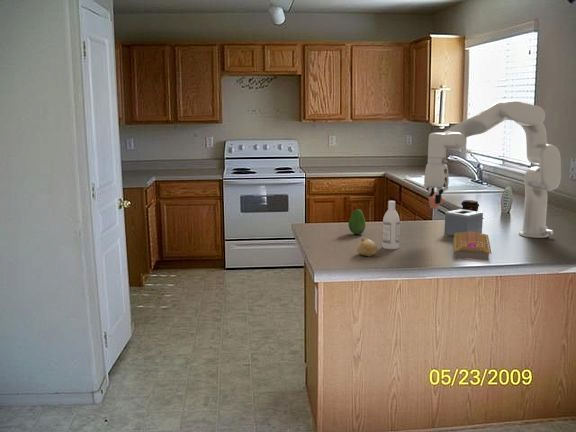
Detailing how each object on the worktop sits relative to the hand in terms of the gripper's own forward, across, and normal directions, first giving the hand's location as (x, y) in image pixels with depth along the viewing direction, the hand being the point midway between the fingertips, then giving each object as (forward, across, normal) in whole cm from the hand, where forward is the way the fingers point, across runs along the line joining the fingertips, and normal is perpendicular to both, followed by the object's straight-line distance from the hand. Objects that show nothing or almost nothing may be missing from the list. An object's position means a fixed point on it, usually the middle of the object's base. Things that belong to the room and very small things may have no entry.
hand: (435, 202), depth 267 cm
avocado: (+17, +31, +16) cm, 39 cm away
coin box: (+17, -3, -18) cm, 25 cm away
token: (+1, 0, -1) cm, 2 cm away
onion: (+17, +1, +43) cm, 46 cm away
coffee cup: (+17, +7, -38) cm, 43 cm away
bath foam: (+17, +3, +26) cm, 31 cm away
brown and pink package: (+18, -21, +2) cm, 27 cm away
